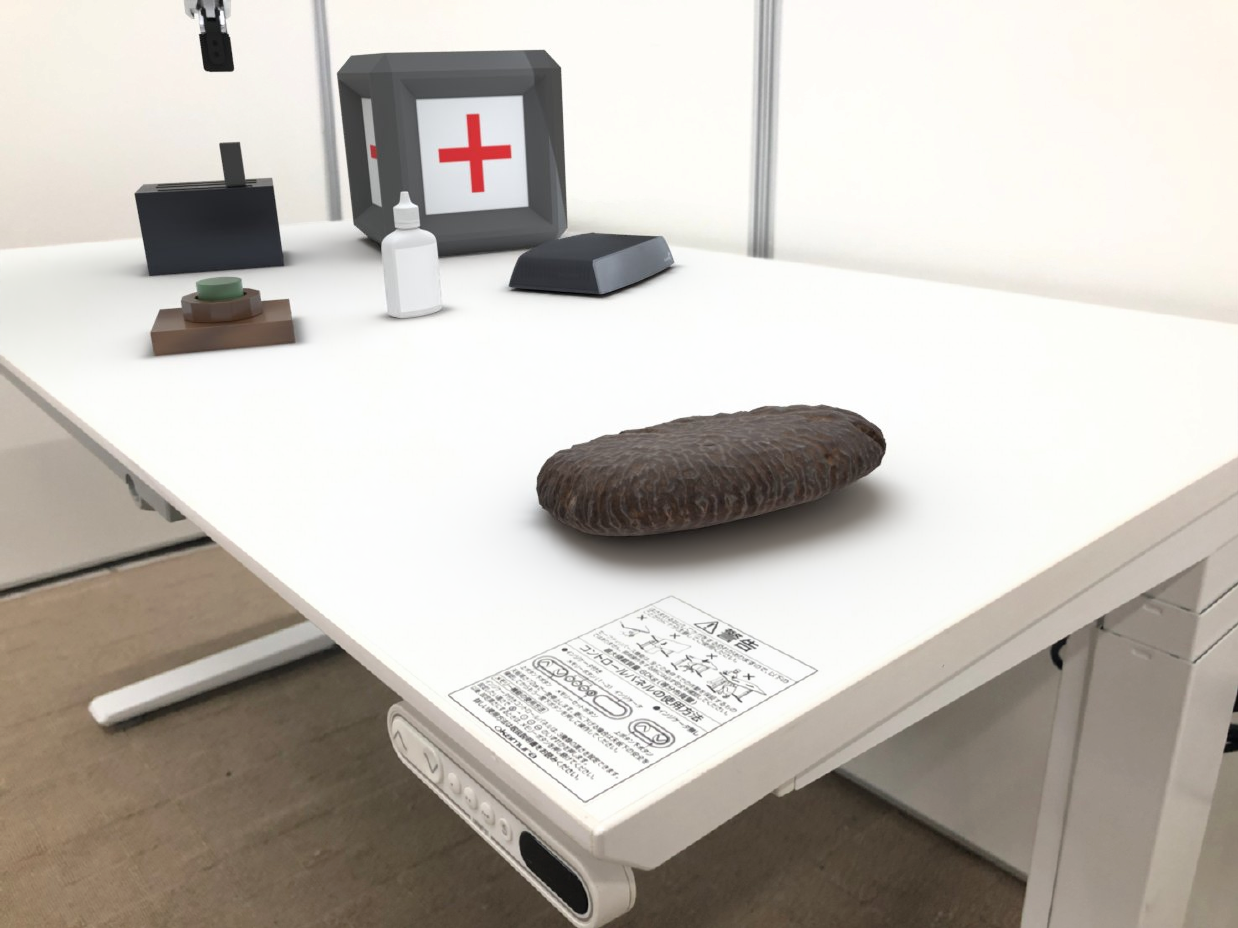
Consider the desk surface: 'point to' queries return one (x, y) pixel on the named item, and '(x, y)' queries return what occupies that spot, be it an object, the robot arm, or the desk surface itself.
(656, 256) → the hard drive
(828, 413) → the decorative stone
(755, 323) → the desk surface
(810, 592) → the desk surface
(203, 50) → the robot arm
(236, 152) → the toaster slider
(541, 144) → the first aid kit
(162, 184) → the toaster
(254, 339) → the brown button base
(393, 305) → the eye dropper bottle
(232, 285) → the button
